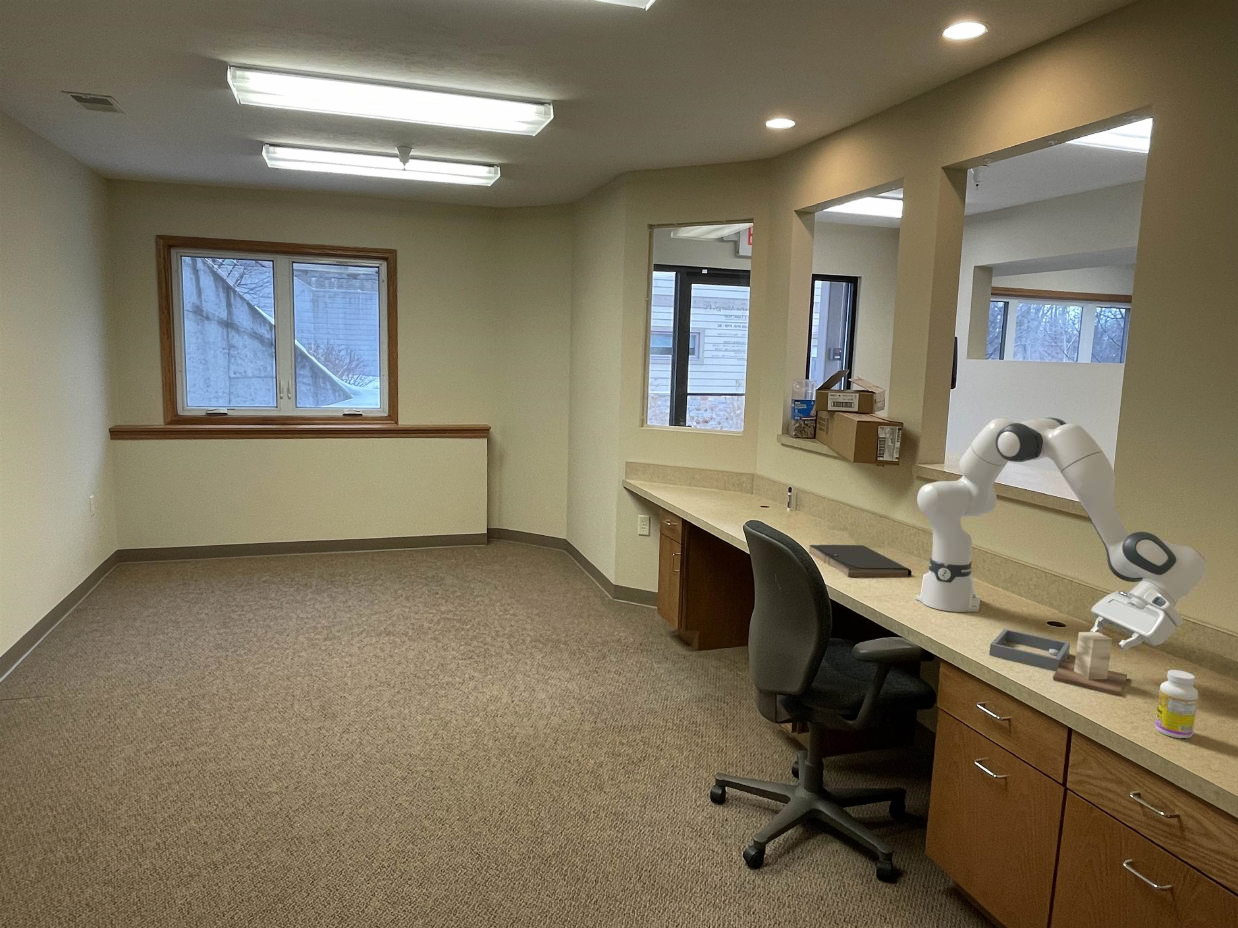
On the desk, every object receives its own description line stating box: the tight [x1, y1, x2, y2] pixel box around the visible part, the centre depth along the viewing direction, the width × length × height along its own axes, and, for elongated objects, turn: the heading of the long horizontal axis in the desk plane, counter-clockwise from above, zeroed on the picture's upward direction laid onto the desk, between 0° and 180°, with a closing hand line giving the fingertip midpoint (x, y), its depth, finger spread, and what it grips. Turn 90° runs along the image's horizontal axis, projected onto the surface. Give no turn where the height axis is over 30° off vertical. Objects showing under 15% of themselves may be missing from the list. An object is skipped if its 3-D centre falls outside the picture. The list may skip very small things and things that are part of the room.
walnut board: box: [1052, 659, 1128, 697], centre depth 199 cm, size 14×14×1 cm
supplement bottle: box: [1154, 669, 1199, 739], centre depth 171 cm, size 7×7×13 cm
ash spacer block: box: [1074, 631, 1113, 680], centre depth 199 cm, size 5×5×10 cm
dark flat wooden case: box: [808, 544, 912, 578], centre depth 301 cm, size 33×4×24 cm
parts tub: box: [989, 628, 1071, 672], centre depth 214 cm, size 16×16×3 cm
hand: (1107, 641), depth 199 cm, fingers open, 8 cm apart
